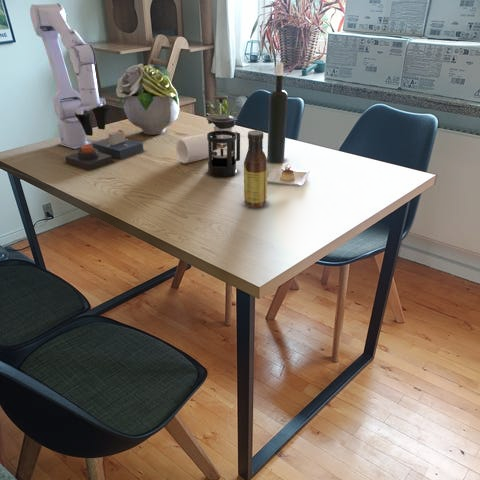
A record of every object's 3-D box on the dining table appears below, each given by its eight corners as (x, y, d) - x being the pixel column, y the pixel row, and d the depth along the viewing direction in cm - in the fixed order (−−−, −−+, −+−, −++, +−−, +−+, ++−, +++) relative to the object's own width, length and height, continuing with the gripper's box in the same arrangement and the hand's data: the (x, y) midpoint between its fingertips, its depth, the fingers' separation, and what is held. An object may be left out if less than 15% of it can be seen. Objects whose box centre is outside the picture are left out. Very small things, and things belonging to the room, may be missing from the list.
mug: (213, 160, 168) (213, 136, 164) (189, 166, 163) (188, 141, 159) (194, 151, 176) (193, 128, 171) (170, 157, 171) (168, 133, 166)
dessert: (309, 174, 157) (310, 159, 154) (303, 188, 148) (304, 172, 145) (272, 171, 160) (273, 156, 157) (264, 184, 151) (265, 168, 148)
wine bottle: (265, 162, 167) (268, 63, 149) (269, 156, 171) (273, 60, 154) (281, 163, 166) (287, 64, 148) (285, 158, 170) (291, 61, 152)
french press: (215, 180, 153) (213, 101, 140) (200, 171, 159) (197, 95, 146) (246, 172, 158) (247, 96, 145) (230, 164, 165) (230, 90, 151)
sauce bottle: (253, 198, 142) (254, 126, 130) (270, 203, 139) (273, 131, 127) (239, 205, 138) (239, 132, 126) (256, 211, 135) (258, 136, 123)
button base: (66, 162, 166) (63, 151, 163) (89, 155, 172) (87, 143, 170) (89, 170, 160) (87, 158, 158) (112, 162, 166) (111, 150, 164)
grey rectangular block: (113, 145, 172) (111, 133, 169) (109, 144, 172) (108, 133, 170) (125, 141, 175) (123, 130, 173) (121, 140, 176) (120, 129, 174)
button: (79, 152, 164) (78, 146, 163) (88, 149, 166) (87, 144, 165) (86, 154, 162) (85, 148, 161) (95, 151, 164) (94, 146, 163)
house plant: (196, 139, 188) (194, 93, 178) (229, 134, 193) (229, 89, 183) (210, 149, 178) (209, 101, 168) (245, 144, 182) (245, 97, 173)
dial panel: (93, 151, 175) (92, 142, 174) (117, 144, 183) (115, 135, 181) (120, 159, 169) (119, 150, 167) (143, 151, 176) (142, 142, 174)
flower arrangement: (109, 133, 194) (98, 64, 179) (156, 120, 209) (150, 56, 195) (151, 145, 181) (143, 72, 166) (198, 131, 196) (195, 63, 182)
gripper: (86, 93, 149) (94, 139, 158) (111, 84, 161) (117, 127, 169) (66, 92, 151) (75, 137, 159) (92, 82, 162) (99, 125, 170)
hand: (95, 132), depth 164 cm, fingers open, 7 cm apart
